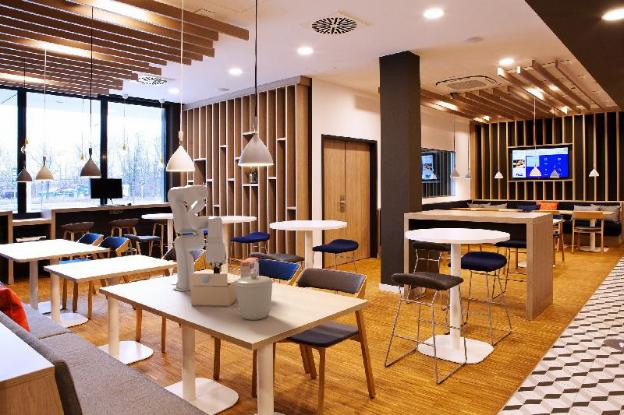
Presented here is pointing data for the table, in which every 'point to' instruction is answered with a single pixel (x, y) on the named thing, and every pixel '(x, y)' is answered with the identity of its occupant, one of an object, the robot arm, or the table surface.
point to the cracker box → (249, 266)
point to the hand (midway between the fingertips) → (216, 275)
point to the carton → (214, 295)
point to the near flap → (208, 279)
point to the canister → (254, 296)
